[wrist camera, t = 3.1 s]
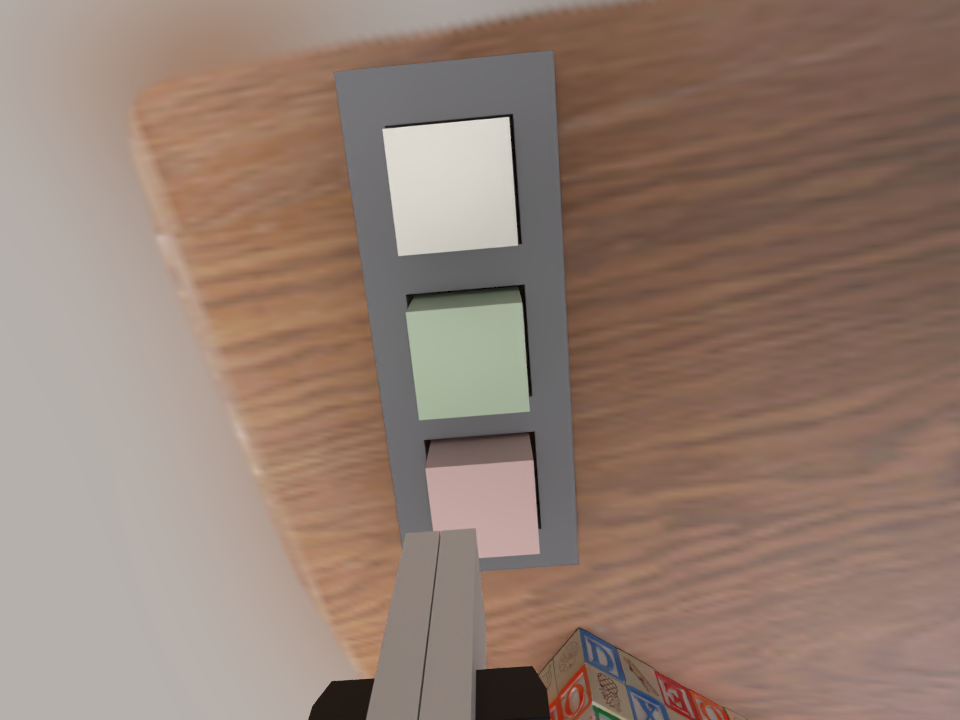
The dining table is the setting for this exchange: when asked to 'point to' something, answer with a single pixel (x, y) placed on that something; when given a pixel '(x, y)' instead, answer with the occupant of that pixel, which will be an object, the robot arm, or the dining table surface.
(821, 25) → the dining table surface
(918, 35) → the dining table surface
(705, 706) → the stack of blocks
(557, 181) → the button panel
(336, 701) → the robot arm
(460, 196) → the white button
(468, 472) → the rose button
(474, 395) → the sage button
